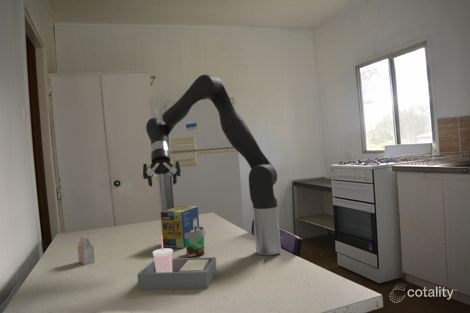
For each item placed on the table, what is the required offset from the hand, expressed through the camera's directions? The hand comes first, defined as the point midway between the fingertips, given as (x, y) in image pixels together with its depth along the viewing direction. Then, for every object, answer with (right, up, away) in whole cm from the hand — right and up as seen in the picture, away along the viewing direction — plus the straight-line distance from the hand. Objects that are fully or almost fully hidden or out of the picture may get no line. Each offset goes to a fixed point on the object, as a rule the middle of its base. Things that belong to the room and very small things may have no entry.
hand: (162, 184), depth 131 cm
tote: (+10, -28, -25) cm, 39 cm away
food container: (+13, -28, +4) cm, 31 cm away
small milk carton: (-31, -31, +5) cm, 44 cm away
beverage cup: (+6, -28, -24) cm, 37 cm away
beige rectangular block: (+15, -27, -25) cm, 40 cm away
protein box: (+4, -28, +24) cm, 37 cm away
